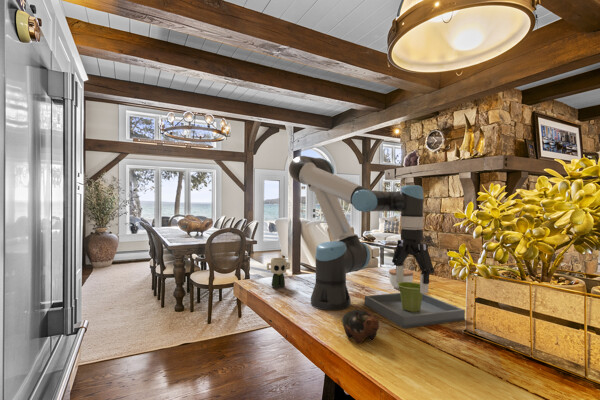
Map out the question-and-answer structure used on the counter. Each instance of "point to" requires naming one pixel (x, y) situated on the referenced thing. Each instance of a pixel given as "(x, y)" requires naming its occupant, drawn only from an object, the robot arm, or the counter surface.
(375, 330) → the decorative turtle
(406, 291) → the plant pot
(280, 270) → the character mug
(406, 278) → the lidded jar
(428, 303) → the walled tray
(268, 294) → the counter surface
